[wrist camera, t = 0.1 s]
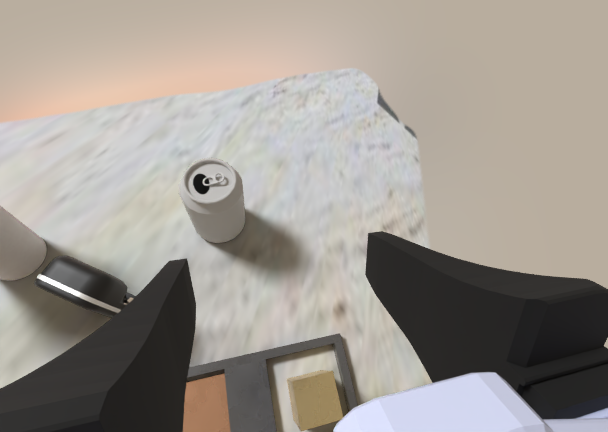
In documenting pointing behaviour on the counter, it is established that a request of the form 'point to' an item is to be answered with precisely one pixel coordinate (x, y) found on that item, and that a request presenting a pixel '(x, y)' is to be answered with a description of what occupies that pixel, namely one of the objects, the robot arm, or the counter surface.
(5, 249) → the coffee cup
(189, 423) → the gray rectangular frame
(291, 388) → the brass block
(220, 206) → the can
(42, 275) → the battery charger
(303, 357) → the counter surface
